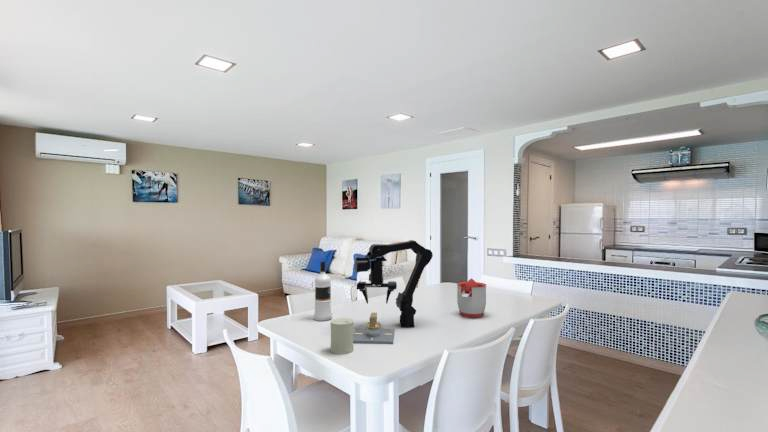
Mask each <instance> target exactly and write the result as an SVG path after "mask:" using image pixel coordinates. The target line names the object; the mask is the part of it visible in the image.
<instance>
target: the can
mask: <svg viewBox="0 0 768 432" xmlns="http://www.w3.org/2000/svg"><path fill="white" fill-rule="evenodd" d="M353 334H354V319H352V318H349V317H338V318H337V317H336V318H335V319H330V350H329V351H330V352H331V353H333V354H335V355H345V354H350V353H352V352H354V343H353Z"/></svg>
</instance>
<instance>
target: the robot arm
mask: <svg viewBox="0 0 768 432" xmlns="http://www.w3.org/2000/svg"><path fill="white" fill-rule="evenodd" d="M406 250H411V251H412V252H413V253H415V254H416V256H415V264H414V267H413V269H412V271H411V273H410V276H409V278H408V280H407V284H406V285H405V288H404V290H403V291H402V292H398V294H397V297H396V298H395V300H396V301H395V304H396V308H398V309H399V311H400V315H399V325H400V328H415V315H416V313H417V309H415V307H413V306H412V305H413V301H414V293H415V292H416V288H417V286H418V283H419V281H420V279H421V276H422V274H423V271H424V269H425V267H426V266H428V264H429V263H430V262H431V260H432V258H433V256H434V255H433V251H432V250H431V249H428V248H425V247H424V246H423V245H421V244H419V242H417V241H416V240H413V239H410V240H406V241H401V242H396V243H395V242H394V243H389V244H382V243H381V244H380V243H374V244H373V243H372V244H371V245H370V246H369V248H368V252H367V254H366V255H365V256H364V257H359V256H357V257H355V261H354V264H353V265H354V266H353V267H354V272H355V273H360V272H368V271H369V270H370V273H369V274H368V281H369V282H370V283H367V281H358V282H357V283H356V290H359V292H361V293H362V295H363V297H364V299H365V303H366V304H369V297H368V295H369V294H368V288H387V290H386V299H385V304H388V301H389V298H390V296H391V293H392V292H394V290H397V286H398V285H397V282H396V281H392V280H391V281H388V282H387V283H386V282H385V283H384V276H383V275H384V274H383V273H384V272H383V271H384V270H383V262H387V261H388V260H387V258H385V255H387V254H389V253H394V252H400V251H406Z"/></svg>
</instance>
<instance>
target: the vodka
mask: <svg viewBox="0 0 768 432" xmlns="http://www.w3.org/2000/svg"><path fill="white" fill-rule="evenodd" d="M319 269H320V274H319V275H317V276H316V277H315V279H314V287H315V288H314V314H313V319H314V320H315V321H317V322H327V321H331V320H332V317H333V313H332V307H331V306H332V305H331V303H332V299H331V298H332V297H331V296H332V295H331V293H332V292H331V290H332V288H331V281H332V279H331V277H330V276H329V275H327V274H326V261H324V260H321V261H320V267H319Z"/></svg>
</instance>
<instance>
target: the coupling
mask: <svg viewBox="0 0 768 432" xmlns="http://www.w3.org/2000/svg"><path fill="white" fill-rule="evenodd" d="M381 325H382V324H381V322H379V321H378V312H371V313H370V316H369V322H366V325H365V327H366V328H368V329H379V328H380V329H382V328H381V327H382V326H381Z"/></svg>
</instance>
